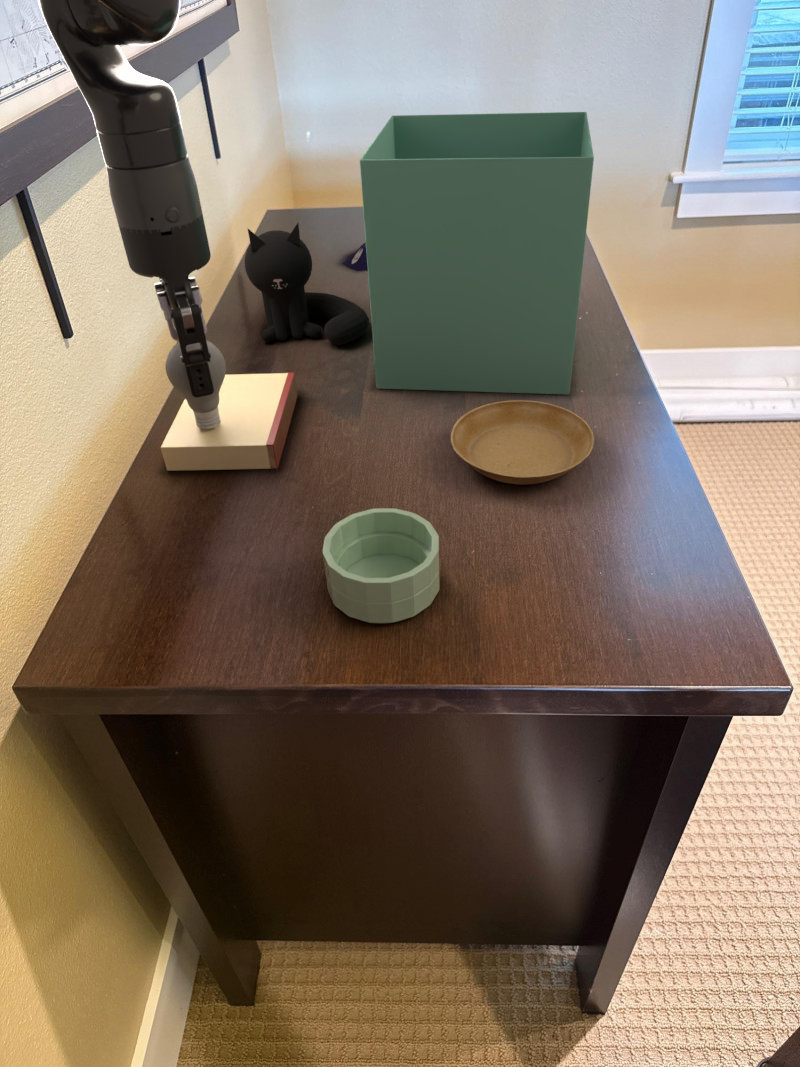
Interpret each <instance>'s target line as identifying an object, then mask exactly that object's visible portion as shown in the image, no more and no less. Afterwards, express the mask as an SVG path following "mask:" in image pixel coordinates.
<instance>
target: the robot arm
mask: <svg viewBox="0 0 800 1067" xmlns="http://www.w3.org/2000/svg"><path fill="white" fill-rule="evenodd" d="M37 3H38V7H39V10H40V12H41V15H42V18H43V20H44V23H45V24H46V27H47V29H48V31H49V33H50V35H51V37H52V39H53V41H54V43H55V44H56V45H55V46H57V48H58V50H59V52H60V54H61V56H62V59H63V60H64V62H65V64H66V66H67V67H68V70H69V72H70V74H71V75H72V78H73V79H74V82H75V83H76V86H77V87H78V90H79V91H80V93H81V95H82V96H83V98H84V100H85V102H86V104H87V106H88V108H89V111H90V112H91V115H92V118H93V123H94V126H95V130H96V131H95V132H96V136H97V138H98V142H99V146H100V149H101V153H102V154H101V155H102V156H103V157H102V158H103V161H104V163H105V169H106V174H107V182H108V189H109V195H110V199H111V202H112V207H113V211H114V214H115V217H116V221H117V225H118V229H119V232H120V236H121V241H122V243H123V248H124V251H125V256H126V259H127V262H128V263H127V264H128V266H129V268H130V271H132V272H133V273H135V274H136V275H138V276H141V277H145V278H158V279H159V282H155V283H153V285H154V289H155V293H156V296H157V300H158V303H159V306H160V309H161V311H162V312H163V316H164V320H165V321H166V323H167V327H168V330H169V334H170V339H171V340H173V341H175V342H176V343H178V345H179V348H180V352H181V356H180V358H181V362H182V363H183V364H184V365H185V368H186V373H187V377H188V381H189V385H190V389H191V393H192V395H193V396H194V397H196V398H197V397H202V396H207V395H211V394H213V392H214V388H213V383H212V379H211V374H210V370H209V365H208V362H210V358H211V355H210V353H209V351H208V347H207V342H206V340H207V337H206V334H207V332H208V328H207V324H206V320H205V316H204V312H203V308H202V303H203V297H202V292H201V288H200V286H199V285H198V284H197V279H196V277H195V276H190V275H191V274H192V273H193V272H195V271H199V270H201V269H203V268H204V267H205V266H207V264H208V263H209V262H210V260H211V257H212V254H211V249H210V248H211V247H210V245H209V239H208V234H207V233H208V232H207V228H206V225H205V224H206V223H205V218H204V214H203V210H202V204H201V199H200V195H199V194H200V193H199V189H198V183H197V180H196V177H195V173H194V171H193V168H192V165H191V162H190V161H191V160H190V157H189V154H188V150H187V144H186V140H185V134H184V129H183V125H182V119H181V114H180V109H179V105H178V100H177V97H176V95H175V92H174V90H173V87H171V85H169V84H168V83H167V82H165V81H164V80H162V79H159V78H156V77H152V76H149V75H147V74H144V73H141V72H139V71H137V70H135V69H134V68H133V67H132V65H131V64H130V63H129V61H128V59H127V57H126V56H125V55H124V54H125V53H124V52H123V51H122V50H123V49H122V48H121V47H120V46H149V45H153V44H157V43H160V42H162V41H164V40H165V39H166V38H168V37H169V36H170V35H171V33H172V32H173V31H174V29H175V28H176V25H177V24H178V21H179V15H180V11H181V0H37ZM189 276H190V277H189ZM195 343H199V344H200V348H201V349H196V350H191V351H186V346H187V345H190V344H195Z"/></svg>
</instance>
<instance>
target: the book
mask: <svg viewBox="0 0 800 1067" xmlns="http://www.w3.org/2000/svg"><path fill="white" fill-rule="evenodd" d="M298 396H299V394H298V386H297V380H296V373H295V372H294V371H293V372H278V373H277V372H276V373H275V372H274V373H273V372H272V373H241V374H239V373H238V374H237V373H236V374H225V378H224V380H223V383H222V386H221V388H220V391H219V404H218V410H219V416H220V419H221V423H220V424H219V425H218V426H216V427H214V428H211V429H202V428H199V427H198V426H197V425H196V421H195V416H194V412H193V410H192V409H191V408H190V407H189V405H188V403H187V400H186V399H185V398H184V399H183V402H182V404H181V406H180V407H179V410H178V411H177V414H176V416H175V418H174V419H173V421H172V423H171V425H170V428H169V430H168V432H167V434H166V436H165V438H164V440H163V442H162V443H161V446H160V450H161V454H162V458H163V461H164V465H165V468H166V471H167V472H170V471H171V472H173V471H176V472H178V471H179V472H180V471H223V470H225V471H226V470H227V471H228V470H269V469H270V470H278V469H279V465H280V462H281V458H282V454H283V451H284V447H285V443H286V440H287V437H288V432H289V429H290V425H291V422H292V418H293V414H294V410H295V407H296V404H297V399H298Z"/></svg>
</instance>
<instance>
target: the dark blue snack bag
mask: <svg viewBox="0 0 800 1067" xmlns="http://www.w3.org/2000/svg"><path fill="white" fill-rule="evenodd" d="M342 265H344V266H346V267H348V268H350V269H352V270H354V271H357V272H358V271H360V272H361V271H368V266H367V253H366V241H365V242H364V243H362V244H361V245H360V246H359V248H357V250H356V251H355V252H354V253H352V254H349V255H348V256H347V257H346V258H345V260H344V261H343V262H342Z"/></svg>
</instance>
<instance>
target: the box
mask: <svg viewBox="0 0 800 1067" xmlns="http://www.w3.org/2000/svg"><path fill="white" fill-rule="evenodd" d="M590 131H591V130H590V125H589V118H588V112H587V111H559V112H555V111H554V112H553V111H552V112H551V111H550V112H507V113H505V112H503V113H501V112H500V113H458V114H457V113H456V114H455V113H454V114H452V113H451V114H409V115H407V114H406V115H402V114H401V115H398V114H397V115H391V116H390V118H389V119H388V121H387V122H386V123H385V125H384V126H383V127H382V128H381V130H380V131H379V133H378V134H377V136H376V137H375V138H374V140H373V141H372V142H371V144H370V145H369V147H368V148H367V149H366V151H365V152H364V153H363V155H362V156H361V157H360V159H359V168H360V169H359V170H360V183H361V184H360V185H361V196H362V211H363V223H364V237H365V238H364V239H365V242H366V253H367V266H368V270H367V276H368V279H367V280H368V291H369V292H368V293H369V306H370V320H371V321H370V322H371V332H372V333H371V334H372V346H373V347H372V348H373V358H374V359H373V361H374V374H375V375H374V376H375V387H376V389H378V390H379V389H383V390H385V389H386V390H411V391H412V390H413V391H414V390H415V391H438V392H439V391H440V392H441V391H444V392H471V393H472V392H473V393H475V392H476V393H502V394H530V395H531V394H532V395H533V394H536V395H566V396H570V392H571V383H572V374H573V373H572V372H573V364H574V353H575V344H576V334H577V326H578V325H577V324H578V316H579V306H580V295H581V286H582V285H581V284H582V278H583V269H584V268H583V266H584V256H585V247H586V237H587V228H588V218H589V208H590V200H591V199H590V198H591V191H592V190H591V189H592V179H593V170H594V161H595V156H594V150H593V144H592V137H591V132H590Z"/></svg>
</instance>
